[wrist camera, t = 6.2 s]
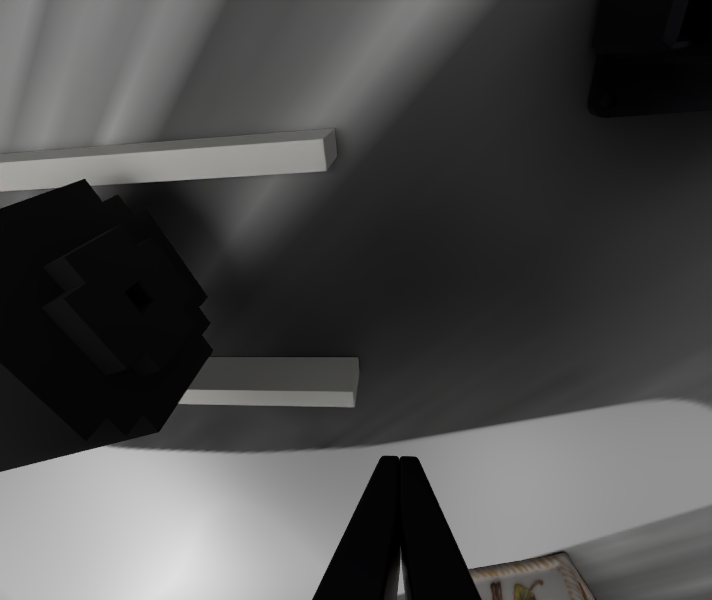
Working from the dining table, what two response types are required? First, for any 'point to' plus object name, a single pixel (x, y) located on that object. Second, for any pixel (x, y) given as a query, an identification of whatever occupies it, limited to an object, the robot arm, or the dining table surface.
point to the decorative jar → (531, 580)
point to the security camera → (90, 325)
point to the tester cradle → (203, 161)
